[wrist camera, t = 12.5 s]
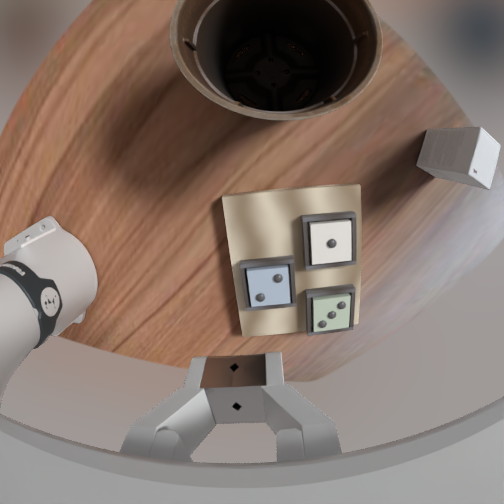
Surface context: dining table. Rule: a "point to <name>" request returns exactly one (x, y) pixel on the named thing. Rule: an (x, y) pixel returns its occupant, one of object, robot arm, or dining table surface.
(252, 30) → the plant pot
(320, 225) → the one dot key
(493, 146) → the skincare box
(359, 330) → the dining table surface
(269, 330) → the key board
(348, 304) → the three dot key
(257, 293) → the two dot key
